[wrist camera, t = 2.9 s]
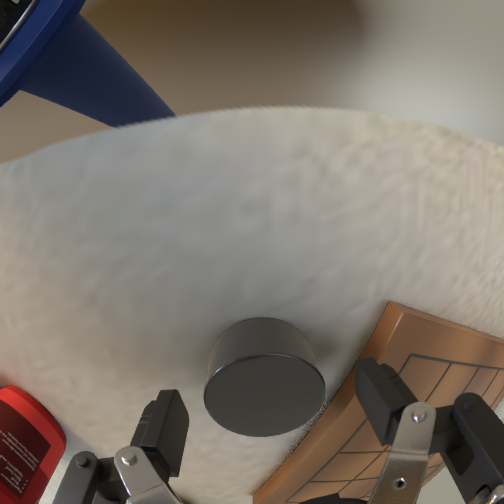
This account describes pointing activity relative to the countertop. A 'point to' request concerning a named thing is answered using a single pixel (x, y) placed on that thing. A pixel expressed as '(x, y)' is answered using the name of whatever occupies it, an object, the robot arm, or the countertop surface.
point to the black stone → (262, 379)
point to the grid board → (356, 422)
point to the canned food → (26, 447)
